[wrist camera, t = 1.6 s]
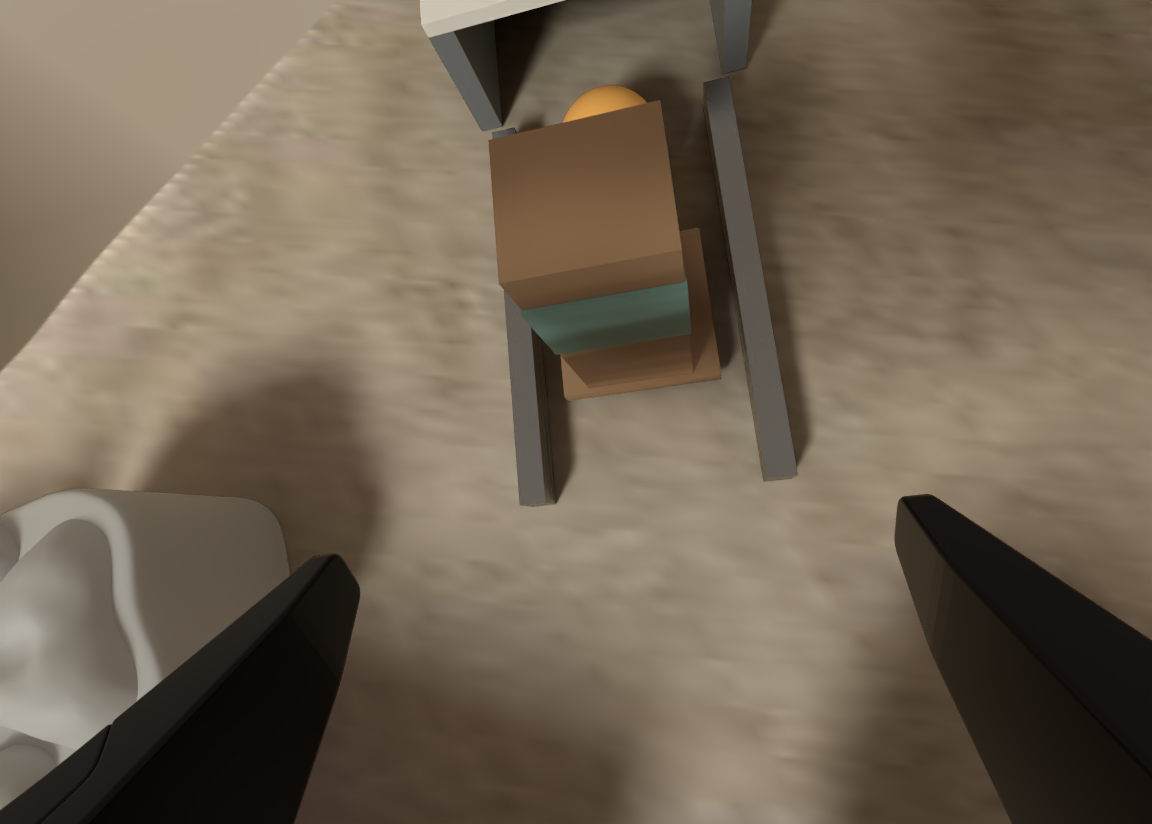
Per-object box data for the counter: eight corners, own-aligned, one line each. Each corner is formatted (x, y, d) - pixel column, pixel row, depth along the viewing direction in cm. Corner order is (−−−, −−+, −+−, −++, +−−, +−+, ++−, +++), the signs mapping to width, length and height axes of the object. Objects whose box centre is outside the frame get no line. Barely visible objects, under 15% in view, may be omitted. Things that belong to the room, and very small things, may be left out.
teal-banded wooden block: (720, 378, 23) (732, 249, 12) (568, 400, 24) (456, 299, 13) (694, 202, 24) (683, -50, 14) (552, 230, 25) (441, 18, 15)
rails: (791, 478, 22) (797, 474, 20) (531, 506, 24) (519, 505, 22) (727, 103, 25) (728, 76, 24) (504, 154, 27) (492, 132, 26)
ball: (669, 202, 25) (661, 143, 21) (576, 221, 26) (553, 167, 22) (657, 120, 26) (648, 49, 22) (568, 140, 27) (544, 75, 23)
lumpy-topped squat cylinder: (333, 700, 24) (137, 791, 16) (80, 818, 26) (-222, 958, 17) (264, 470, 27) (66, 444, 19) (39, 588, 28) (-240, 614, 20)
